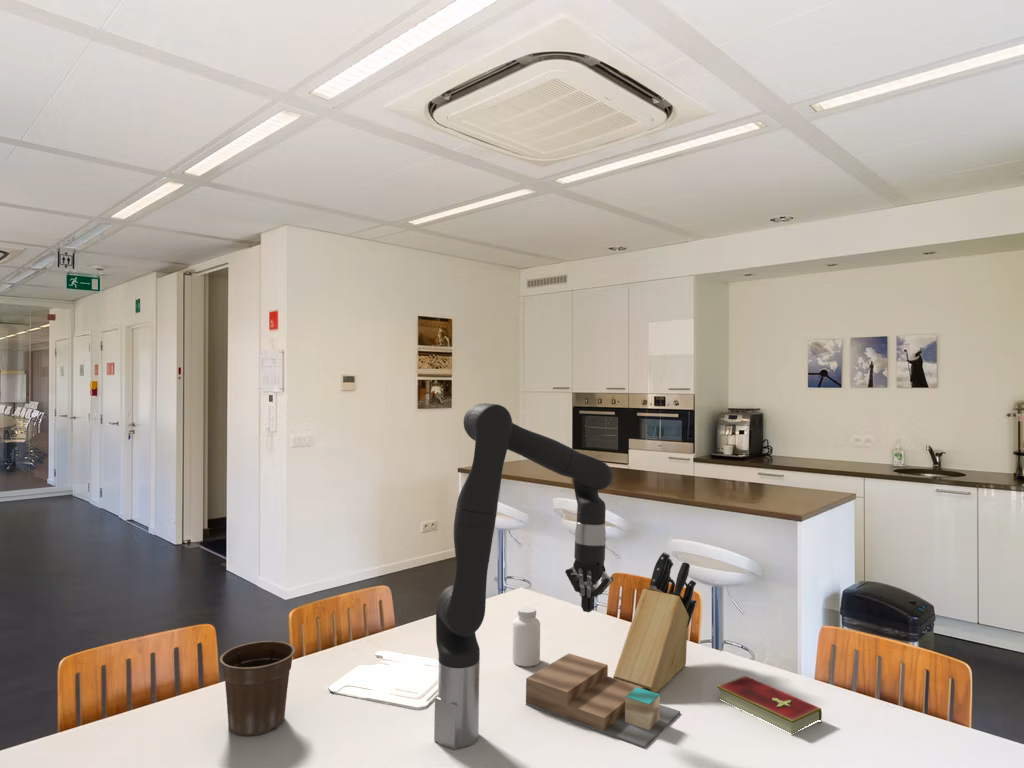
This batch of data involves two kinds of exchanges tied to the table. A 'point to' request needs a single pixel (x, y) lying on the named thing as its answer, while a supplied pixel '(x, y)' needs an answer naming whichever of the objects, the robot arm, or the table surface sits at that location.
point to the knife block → (658, 630)
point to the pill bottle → (526, 638)
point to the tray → (393, 681)
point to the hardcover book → (769, 704)
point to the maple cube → (642, 708)
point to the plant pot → (256, 685)
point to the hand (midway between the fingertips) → (587, 611)
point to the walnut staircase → (590, 699)
